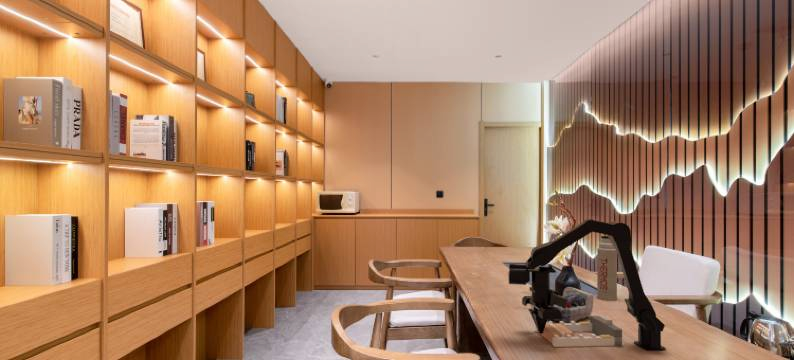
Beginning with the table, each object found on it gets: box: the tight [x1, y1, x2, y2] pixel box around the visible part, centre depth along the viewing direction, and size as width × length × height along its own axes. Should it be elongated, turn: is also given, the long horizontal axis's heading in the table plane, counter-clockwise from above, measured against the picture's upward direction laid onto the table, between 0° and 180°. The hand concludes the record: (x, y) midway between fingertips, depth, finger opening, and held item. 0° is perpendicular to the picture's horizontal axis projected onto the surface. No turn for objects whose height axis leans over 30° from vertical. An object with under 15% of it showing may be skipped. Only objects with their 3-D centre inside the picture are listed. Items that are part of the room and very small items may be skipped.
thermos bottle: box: [596, 235, 618, 301], centre depth 197 cm, size 8×8×28 cm
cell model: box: [548, 286, 594, 323], centre depth 166 cm, size 13×11×20 cm
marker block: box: [540, 323, 575, 344], centre depth 144 cm, size 10×7×4 cm
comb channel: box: [535, 315, 623, 348], centre depth 144 cm, size 15×22×6 cm
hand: (540, 333), depth 143 cm, fingers closed
